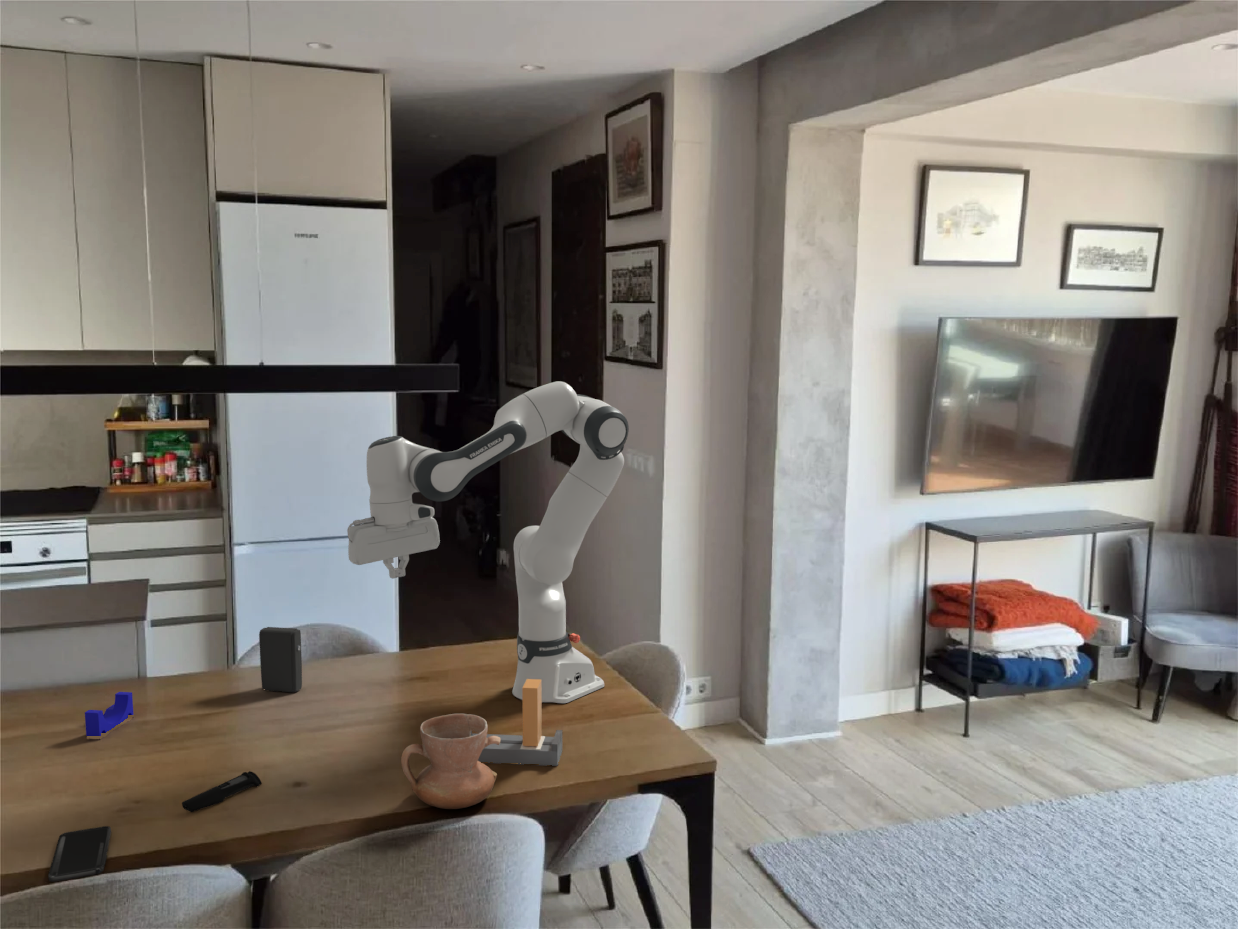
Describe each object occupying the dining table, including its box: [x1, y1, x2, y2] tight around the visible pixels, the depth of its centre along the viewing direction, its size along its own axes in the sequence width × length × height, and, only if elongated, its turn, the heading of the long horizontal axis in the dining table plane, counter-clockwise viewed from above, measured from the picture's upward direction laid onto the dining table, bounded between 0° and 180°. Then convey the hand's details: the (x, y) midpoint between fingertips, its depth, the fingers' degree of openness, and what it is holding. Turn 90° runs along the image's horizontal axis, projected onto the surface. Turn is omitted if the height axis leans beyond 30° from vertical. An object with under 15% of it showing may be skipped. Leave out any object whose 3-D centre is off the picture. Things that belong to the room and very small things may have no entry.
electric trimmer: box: [181, 770, 263, 813], centre depth 185 cm, size 4×16×3 cm, turn 148°
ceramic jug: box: [400, 713, 501, 810], centre depth 184 cm, size 18×14×14 cm
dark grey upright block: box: [258, 626, 303, 693], centre depth 238 cm, size 9×4×15 cm, turn 82°
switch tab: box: [521, 679, 543, 746], centre depth 202 cm, size 3×5×12 cm, turn 175°
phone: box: [47, 825, 112, 883], centre depth 165 cm, size 8×1×15 cm
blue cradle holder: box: [84, 691, 134, 737], centre depth 216 cm, size 12×4×6 cm, turn 174°
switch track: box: [471, 729, 563, 767], centre depth 203 cm, size 20×7×4 cm, turn 85°
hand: (397, 577), depth 215 cm, fingers closed
